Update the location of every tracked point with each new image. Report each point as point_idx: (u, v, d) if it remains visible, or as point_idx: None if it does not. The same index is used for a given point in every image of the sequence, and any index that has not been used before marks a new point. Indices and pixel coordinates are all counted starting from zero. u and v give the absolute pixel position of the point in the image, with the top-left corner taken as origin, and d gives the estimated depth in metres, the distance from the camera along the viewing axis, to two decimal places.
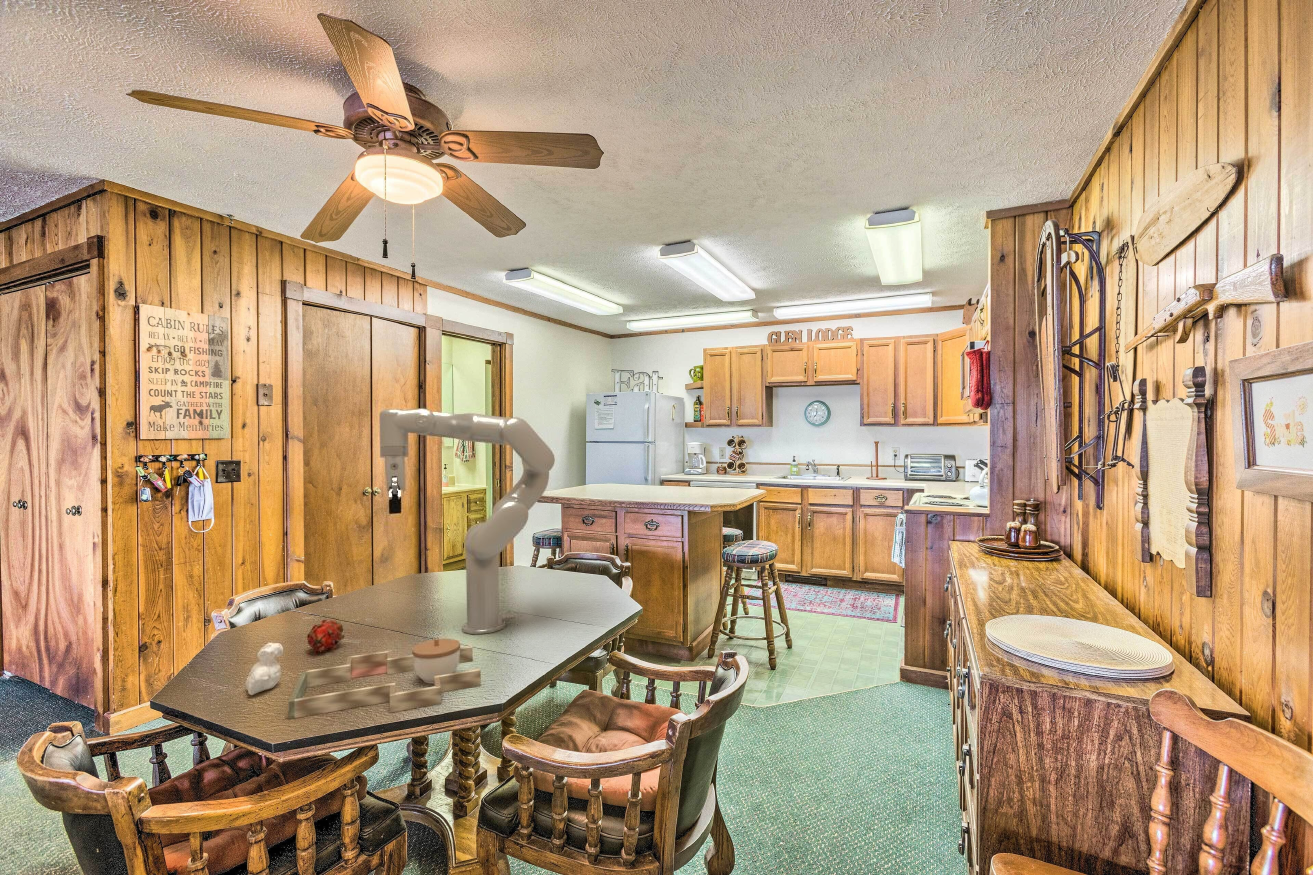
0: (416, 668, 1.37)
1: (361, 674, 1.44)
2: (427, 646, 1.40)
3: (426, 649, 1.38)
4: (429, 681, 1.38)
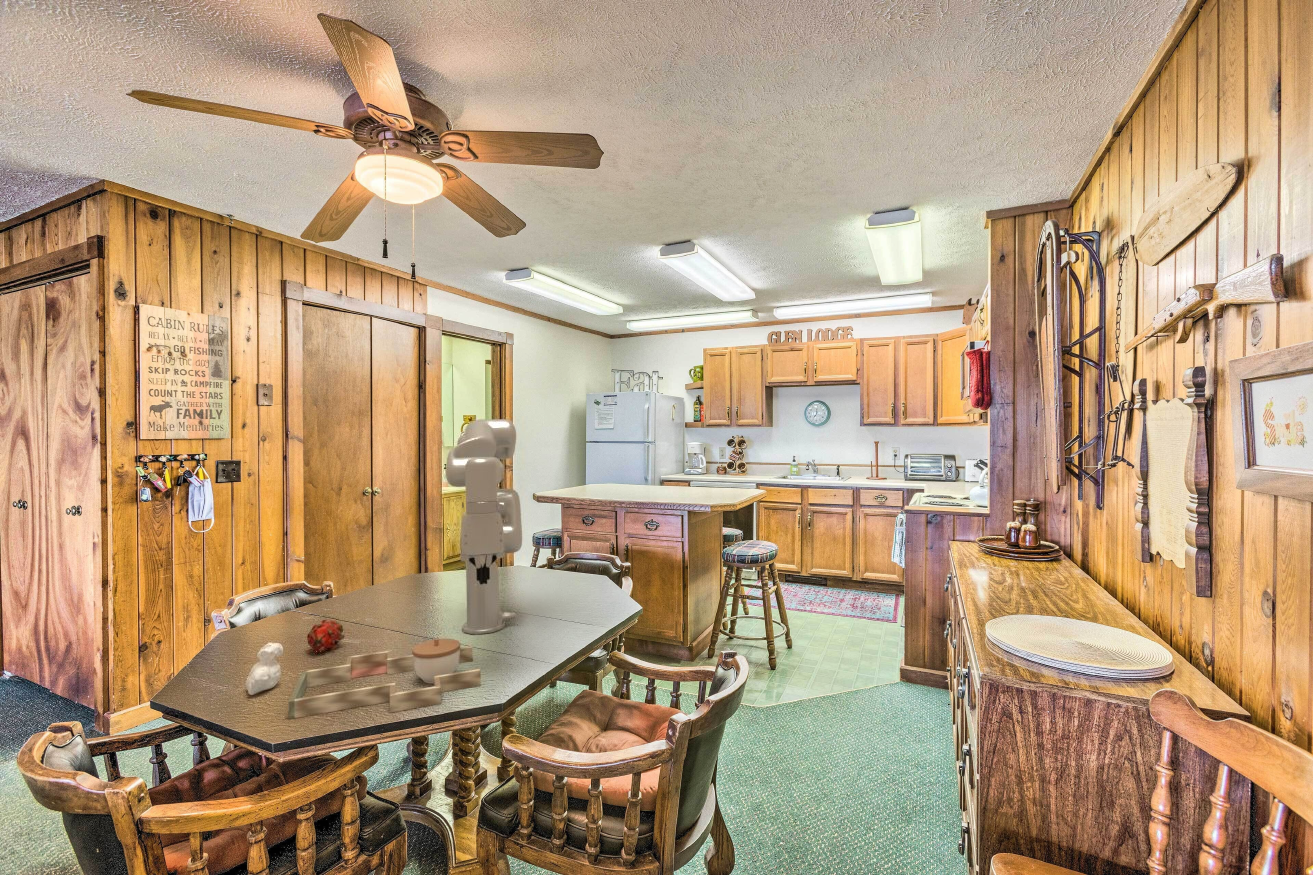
0: (416, 668, 1.37)
1: (361, 674, 1.44)
2: (427, 646, 1.40)
3: (426, 649, 1.38)
4: (429, 681, 1.38)
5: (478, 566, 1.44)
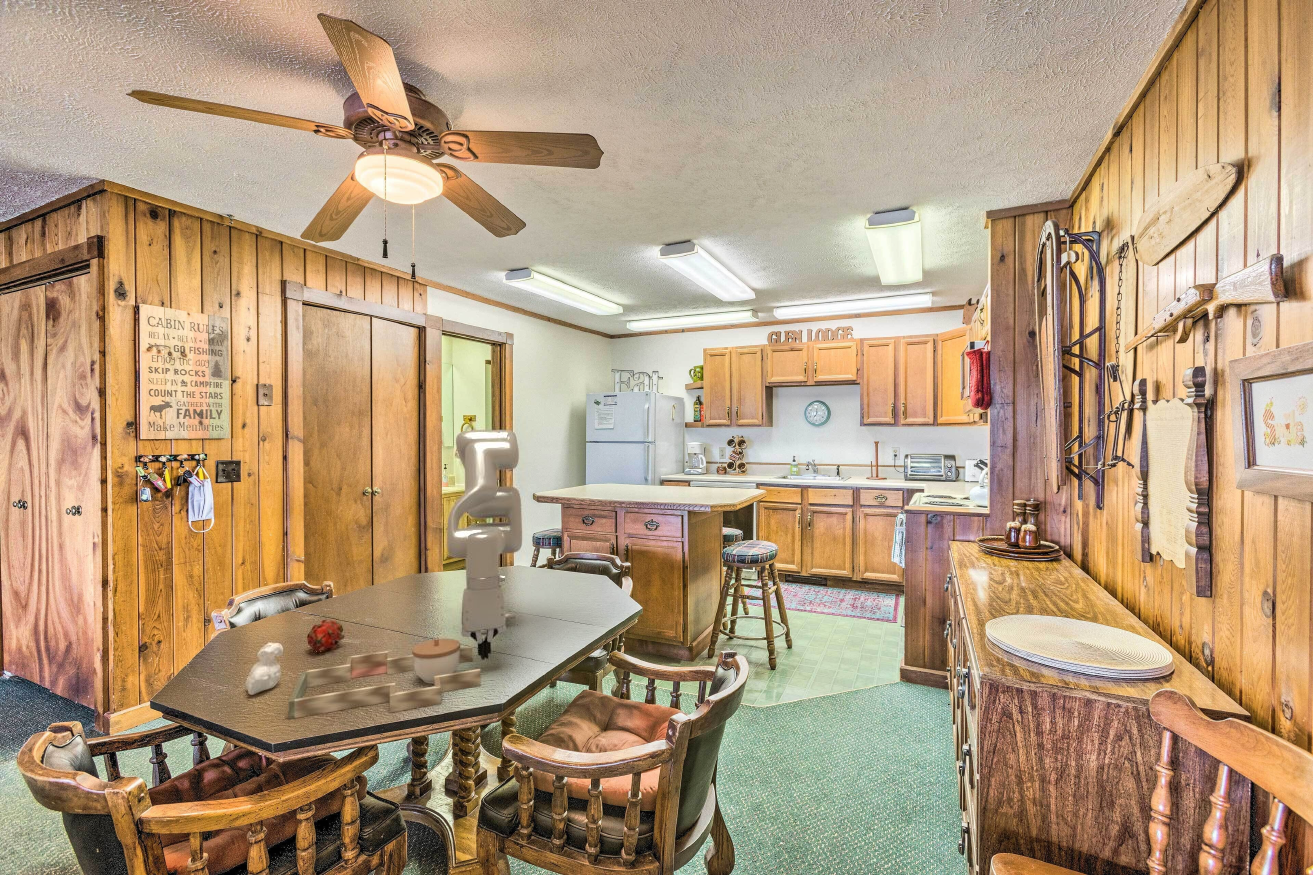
0: (416, 668, 1.37)
1: (361, 674, 1.44)
2: (427, 646, 1.40)
3: (426, 649, 1.38)
4: (429, 681, 1.38)
5: (479, 641, 1.44)
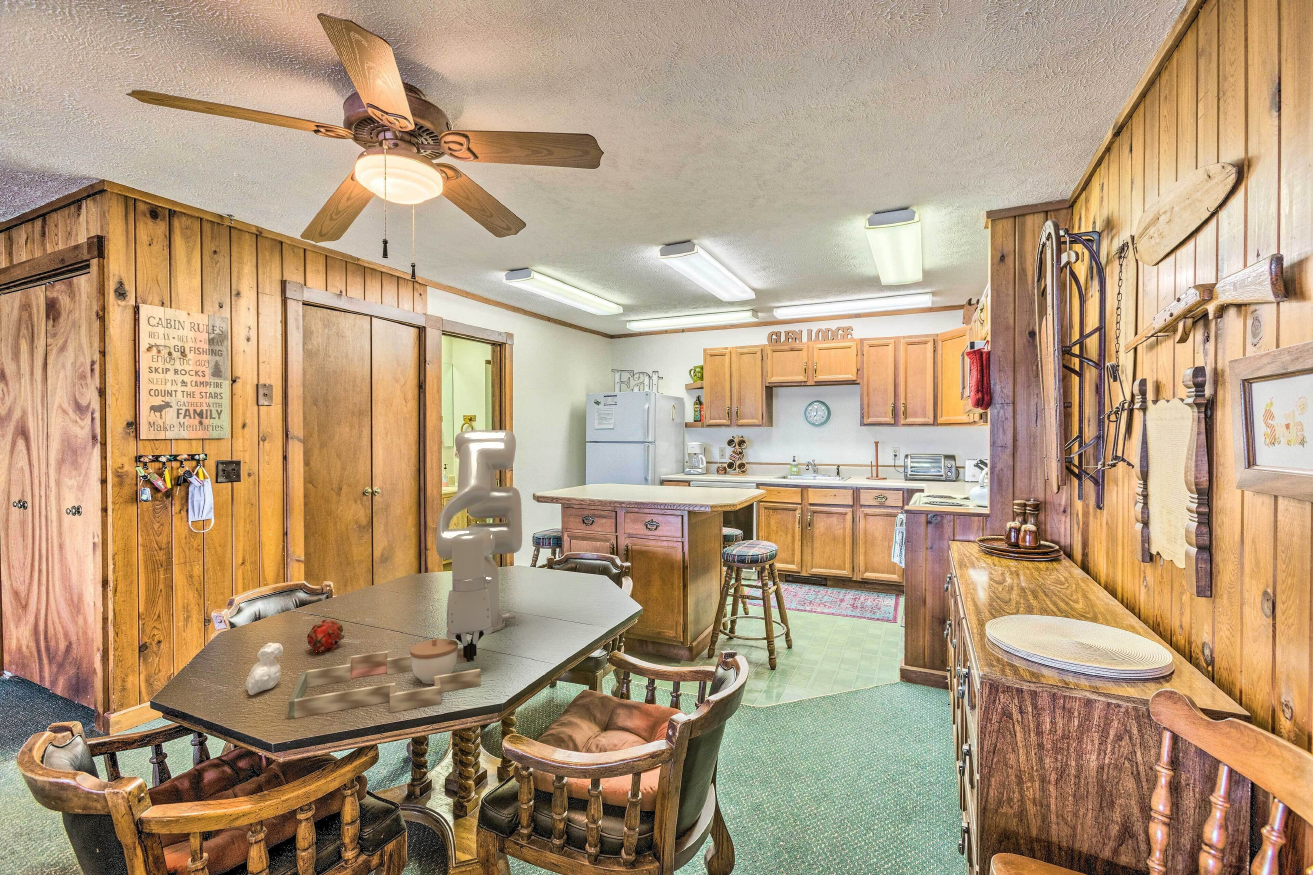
0: (414, 668, 1.37)
1: (361, 674, 1.44)
2: (425, 646, 1.40)
3: (423, 649, 1.38)
4: (427, 681, 1.37)
5: (465, 643, 1.42)
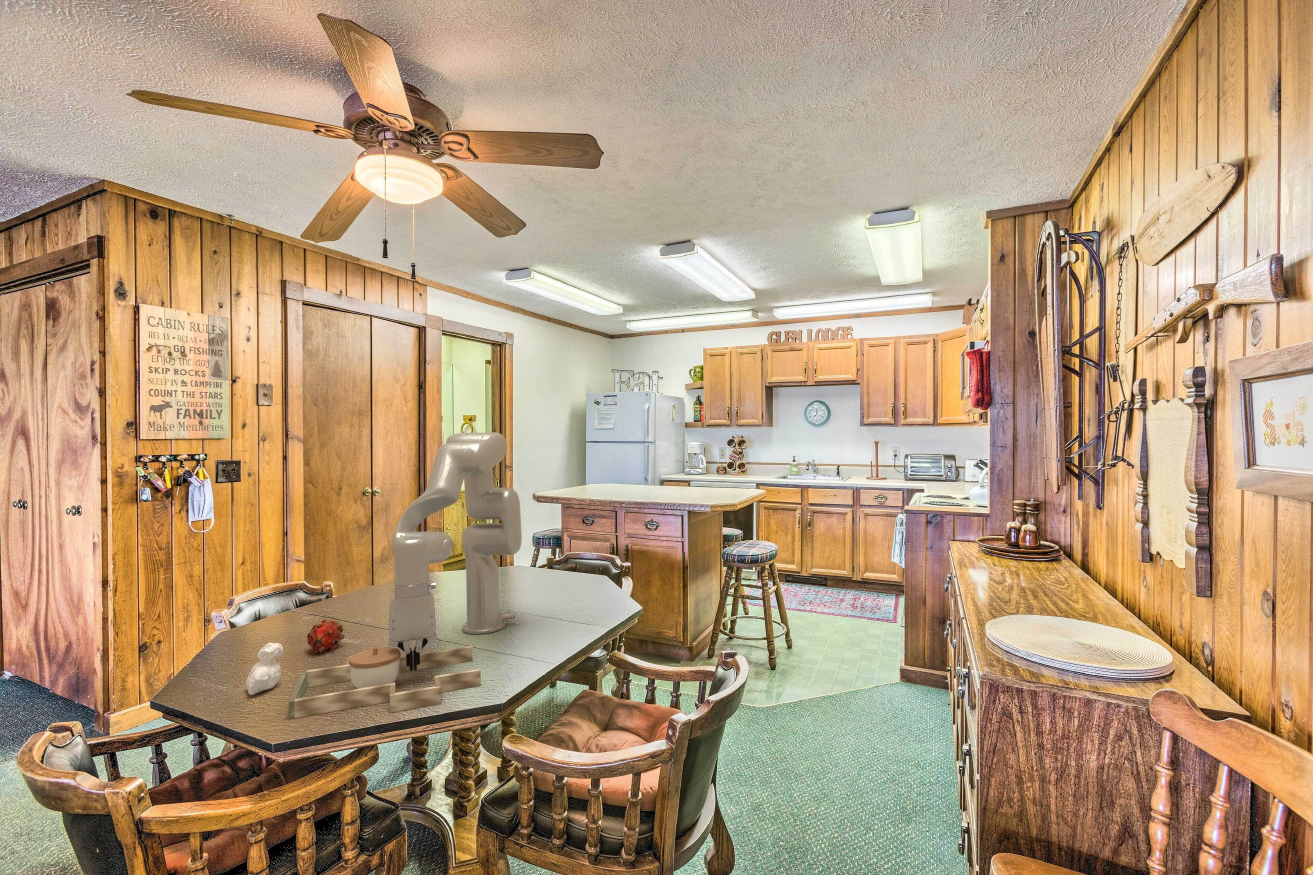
0: (352, 678, 1.32)
1: None
2: (365, 655, 1.35)
3: (362, 658, 1.33)
4: None
5: (407, 651, 1.37)
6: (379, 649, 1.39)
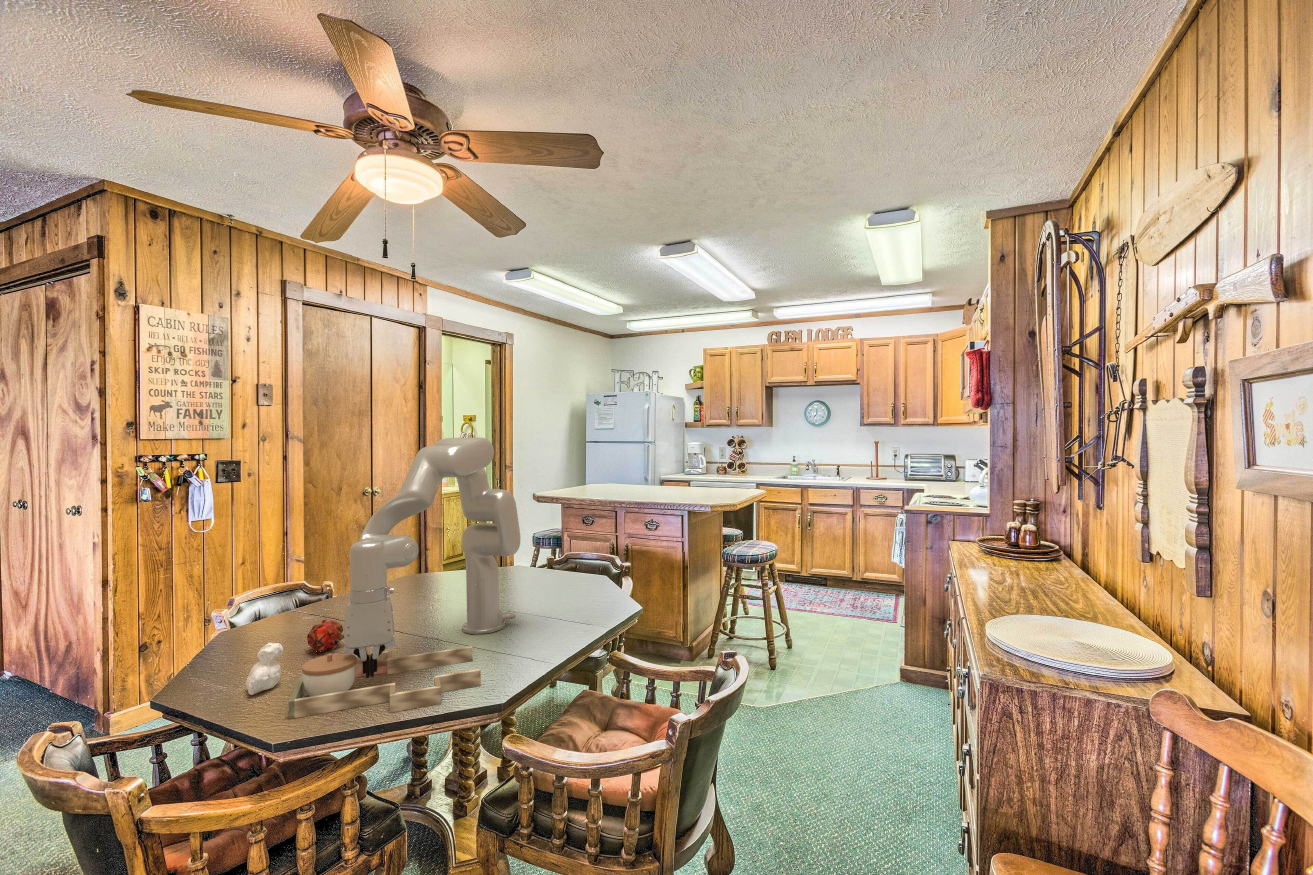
0: (304, 686, 1.28)
1: (361, 674, 1.44)
2: (319, 662, 1.31)
3: (316, 665, 1.29)
4: None
5: (363, 658, 1.34)
6: (334, 656, 1.35)
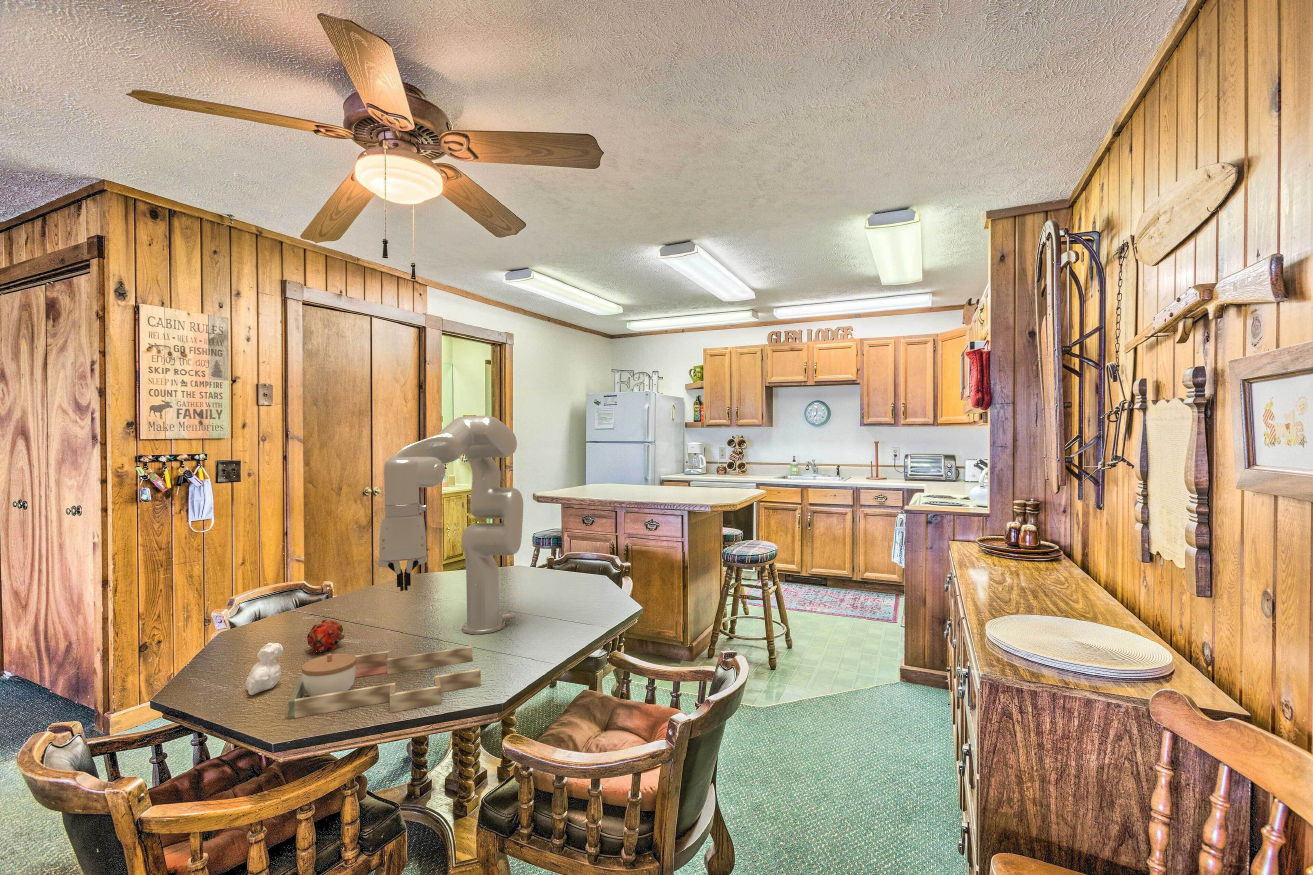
0: (304, 686, 1.28)
1: (361, 674, 1.44)
2: (319, 662, 1.31)
3: (316, 665, 1.29)
4: None
5: (398, 572, 1.37)
6: (334, 656, 1.35)
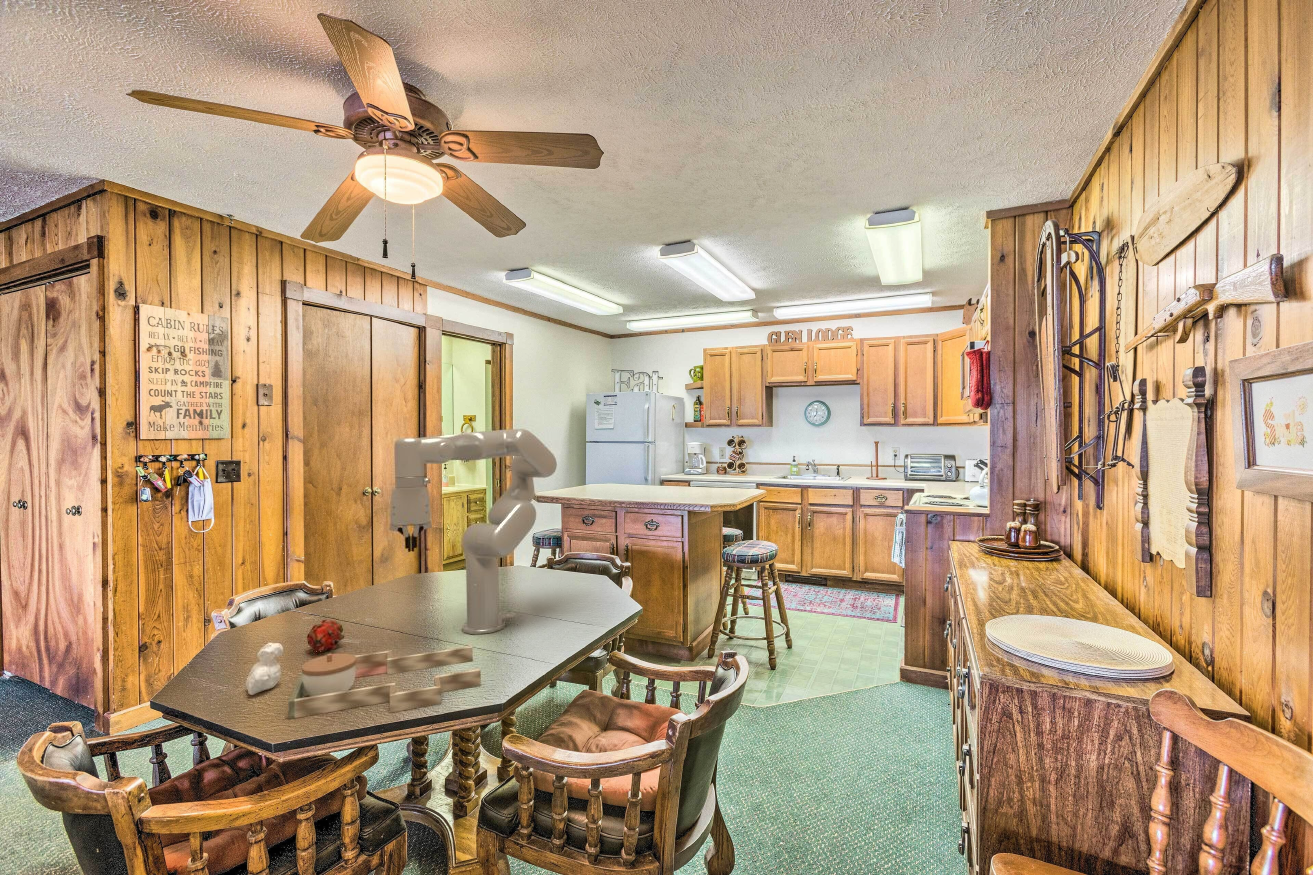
0: (304, 686, 1.28)
1: (361, 674, 1.44)
2: (319, 662, 1.31)
3: (316, 665, 1.29)
4: None
5: (406, 535, 1.59)
6: (334, 656, 1.35)
